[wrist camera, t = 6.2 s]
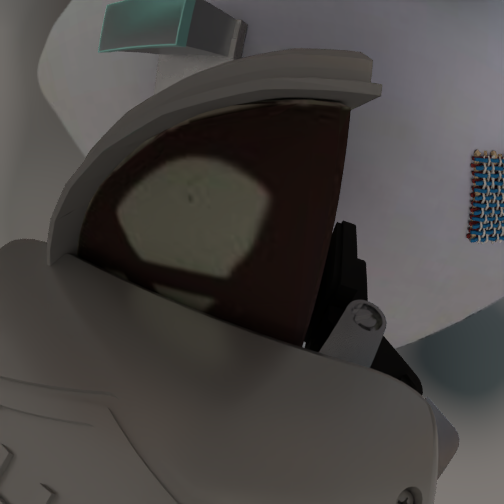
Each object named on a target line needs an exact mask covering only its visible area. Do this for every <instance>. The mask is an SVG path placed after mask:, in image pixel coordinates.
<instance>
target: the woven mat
mask: <svg viewBox="0 0 504 504" xmlns="http://www.w3.org/2000/svg"><path fill="white" fill-rule="evenodd" d="M480 154H481V153H480V152H479V151H478V150H477V151H475V153H474V157H472V160H474V164H471V167H474V171H472V175H474V179H472V182H473V183H474V187H472V190H473V191H474V193H471V197H474V198H473V201H471V204H472V205H473V206H472V208H471V210H470V211H471V212H472V215H470V218H471V222H469V225H470V226H471V227H470V229H469V232H470V233H469V234H468V235H467V238H470V242H476V241H477V243H479V242H480V241H481V244H483V242H484V241H485V242H484V243H487V242H488V240H491V242H492V244H493V241H495V240H496V241H495V242H497V241H498V240H500V243H501V241H502V240H504V171H503V170H504V158H503V157H502V154H498V157H497V154H496V151H492V152H491V156H488V157H487V151H484V156H483V157H480ZM479 162H483V164H479ZM487 162H488V164H487ZM497 163H498V165H496V164H497ZM502 163H503V165H502ZM479 170H483V172H479ZM495 170H498V172H495ZM502 171H503V172H502ZM479 177H481V179H479ZM495 178H497V179H495ZM502 178H503V179H502ZM479 185H482V187H479ZM494 185H496V186H494ZM489 186H490V187H489ZM496 192H497V194H495V193H496ZM501 199H502V200H501ZM479 200H481V201H479ZM477 207H481V208H477ZM479 214H480V215H479Z"/></svg>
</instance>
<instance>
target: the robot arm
mask: <svg viewBox="0 0 504 504" xmlns="http://www.w3.org/2000/svg"><path fill="white" fill-rule="evenodd" d="M46 247H47V242H43V241H39V240H35V239H18V240H13V241H11V242H9V243H7V244H5V245H4V246H3V247H1V248H0V504H434V498H435V492H436V485H437V480H438V478H439V477H440V475H441V474H442V473H443V471H444V470H445V468H446V467H447V465H448V464H449V462H450V461H451V459H452V458H453V456H454V455H455V453H456V451H457V449H458V447H459V436H458V433H457V431H456V429H455V428H454V427H453V426H452V424H451V423H450V422H449V421H448V420H447V419H446V417H445V416H444V415H443V414H442V413H441V412H440V410H439V409H438V408H437V407H436V406H435V405H434V403H433V402H432V401H431V400H430V399H429V398H428V397H427V398H425V399H424V397H423V396H422V393H423V391H422V385H421V382H420V380H419V378H418V377H417V375H416V374H415V373H414V372H413V370H412V369H411V368H410V367H409V366H408V364H407V363H406V362H405V361H404V360H403V358H402V357H401V356H400V355H399V354H398V353H397V351H396V350H395V349H394V348H393V347H392V345H391V344H390V343H389V342H388V341H387V339H386V338H385V337H384V336H383V334H384V332H385V329H386V324H387V322H386V318H385V316H384V314H383V312H382V311H381V310H380V309H379V308H378V307H377V306H376V305H374V304H373V303H371V302H368V298H367V274H366V262H365V261H364V260H361V259H358V258H357V235H356V225H354V224H352V223H349V222H346V221H342V223H338V222H337V223H336V225H335V228H334V231H333V233H332V236H331V240H330V245H329V249H328V254H327V258H326V262H325V266H324V270H323V275H322V279H321V283H320V287H319V291H318V294H317V298H316V302H315V306H314V309H313V313H312V316H311V319H310V323H309V326H308V329H307V333H306V336H305V339H304V342H306V344H305V348H303V347H300V346H297V345H293V344H290V343H287V342H284V341H281V340H278V339H275V338H272V337H269V336H266V335H263V334H261V333H258V332H255V331H252V330H249V329H247V328H244V327H241V326H238V325H236V324H233V323H230V322H228V321H225V320H222V319H220V318H217V317H214V316H212V315H209V314H207V313H204V312H201V311H199V310H196V309H194V308H191V307H189V306H186V305H184V304H182V303H179V302H177V301H174V300H172V299H170V298H167V297H165V296H162V295H160V294H158V293H155V292H153V291H151V290H149V289H146V288H144V287H142V286H140V285H137V284H135V283H133V282H131V281H128V280H126V279H124V278H122V277H120V276H118V275H115V274H113V273H111V272H109V271H107V270H105V269H103V268H101V267H99V266H97V265H95V264H93V263H91V262H88V261H86V260H84V259H82V258H80V257H78V256H76V255H74V254H71V253H66V254H65V255H63V256H62V257H61V258H60V259H58V260H57V261H56V262H54V263H53V264H52V265H51V266H50V265H47V253H46Z"/></svg>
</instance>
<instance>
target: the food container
mask: <svg viewBox="0 0 504 504" xmlns="http://www.w3.org/2000/svg"><path fill="white" fill-rule="evenodd" d="M372 64H373V60H372V59H370V58H369V57H367V56H366V55H364V54H363V53H362V52H355V51H345V50H331V49H287V50H281V51H275V52H269V53H264V54H259V55H254V56H249V57H245V58H241V59H236V60H232V61H228V62H225V63H222V64H220V65H217V66H214V67H211V68H208V69H206V70H203V71H200V72H198V73H195V74H193V75H190V76H188V77H186V78H184V79H182V80H180V81H178V82H177V83H175V84H173V85H171V86H169V87H167V88H166V89H164V90H162V91H160V92H159V93H157V94H155V95H154V96H152V97H150V98H149V99H147V100H145V101H144V102H142V103H141V104H139V105H137V106H136V107H134V108H133V109H131V110H130V111H128V112H127V113H126V114H125V115H124V116H123V117H122V118H121V119H120V120H118V121H117V122H116V123H115V124H114V125H113V127H112V128H111V129H110V130H109V131H108V132H107V133H106V134H105V135H104V136H103V137H102V138H101V139H100V140H99V141H98V142H97V143H96V145H95V146H94V147H93V148H92V149H91V150H90V152H89V153H88V155H87V157H86V158H85V160H84V162H83V163H82V165H81V166H80V167H79V168H78V169H77V171H76V172H75V173H74V174H73V176H72V177H71V178H70V179H69V181H68V182H67V183H66V185H65V187H64V189H63V191H62V194H61V195H60V198H59V200H58V202H57V205H56V207H55V209H54V212H53V214H52V217H51V221H50V227H49V233H48V240H47V247H46V253H47V265H50V266H51V265H52V264H53V263H54V262H56V261H57V260H58V259H60V258H61V257H62V256H63V255H65V254H66V253H71V254H74V255H76V256H78V257H80V258H82V259H84V260H86V261H88V262H91V263H93V264H95V265H97V266H99V267H101V268H103V269H105V270H107V271H109V272H111V273H113V274H115V275H118V276H120V277H122V278H124V279H126V280H128V281H131V282H133V283H135V284H137V285H140V286H142V287H144V288H146V289H149V290H151V291H153V292H155V293H158V294H160V295H162V296H165V297H167V298H170V299H172V300H174V301H177V302H179V303H182V304H184V305H186V306H189V307H191V308H194V309H196V310H199V311H201V312H204V313H207V314H209V315H212V316H214V317H217V318H220V319H222V320H225V321H228V322H230V323H233V324H236V325H238V326H241V327H244V328H247V329H249V330H252V331H255V332H258V333H261V334H263V335H266V336H269V337H272V338H275V339H278V340H281V341H284V342H287V343H290V344H293V345H297V346H300V347H302V345H303V342H304V339H305V336H306V333H307V329H308V326H309V323H310V319H311V316H312V313H313V309H314V306H315V302H316V298H317V294H318V291H319V287H320V283H321V279H322V275H323V270H324V266H325V262H326V258H327V254H328V249H329V245H330V240H331V236H332V231H333V226H334V221H335V216H336V211H337V206H338V200H339V194H340V188H341V182H342V175H343V169H344V162H345V154H346V147H347V139H348V130H349V121H350V111H351V110H352V109H354V108H356V107H358V106H361V105H363V104H365V103H367V102H369V101H371V100H373V99H375V98H377V97H380V96H381V91H382V85H381V84H376V83H371V76H372Z"/></svg>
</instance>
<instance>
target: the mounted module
mask: <svg viewBox="0 0 504 504" xmlns="http://www.w3.org/2000/svg"><path fill="white" fill-rule="evenodd" d="M235 22H236V19H234V18H233V17H231V16H230V15H228V14H226V13H225V12H223V11H222V10H220V9H218V8H217V7H215V6H213V5H211V4H210V3H208V2H206V1H204V0H124V1H120V2H116V3H113V4H109V5H107V7H106V12H105V16H104V21H103V26H102V31H101V37H100V43H99V49H98V52H115V51H124V52H141V53H153V54H163V55H207V56H221V57H228V55H229V50H230V45H231V40H232V35H233V31H234V26H235Z"/></svg>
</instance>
